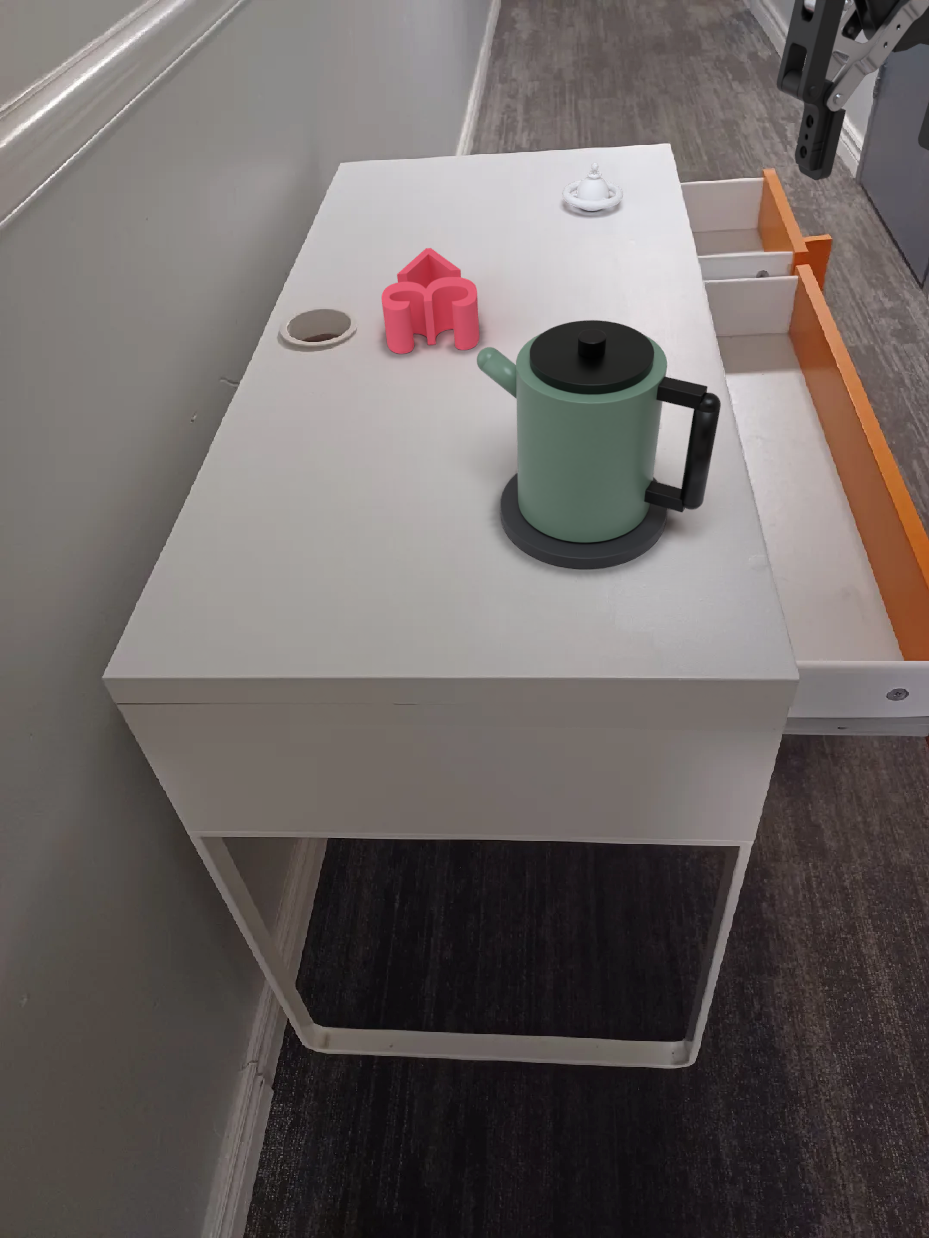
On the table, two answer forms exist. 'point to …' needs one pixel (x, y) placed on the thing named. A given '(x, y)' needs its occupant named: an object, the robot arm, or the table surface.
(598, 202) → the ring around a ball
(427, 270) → the pink curled block
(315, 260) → the table surface
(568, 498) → the kettle
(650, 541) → the kettle base
